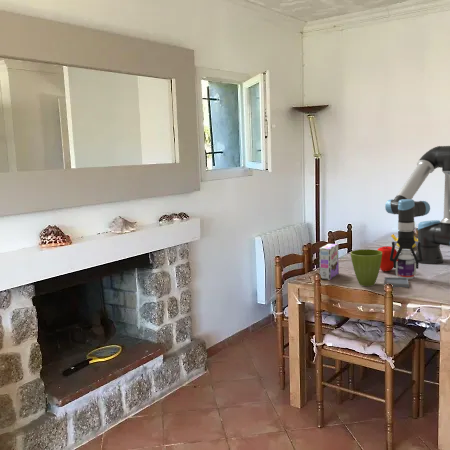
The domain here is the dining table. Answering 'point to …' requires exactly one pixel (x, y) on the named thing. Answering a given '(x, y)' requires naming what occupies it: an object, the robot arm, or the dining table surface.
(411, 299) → the dining table surface
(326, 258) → the candy box
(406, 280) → the socket plate
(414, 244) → the teapot
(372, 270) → the flower pot
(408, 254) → the pill bottle
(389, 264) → the apple
